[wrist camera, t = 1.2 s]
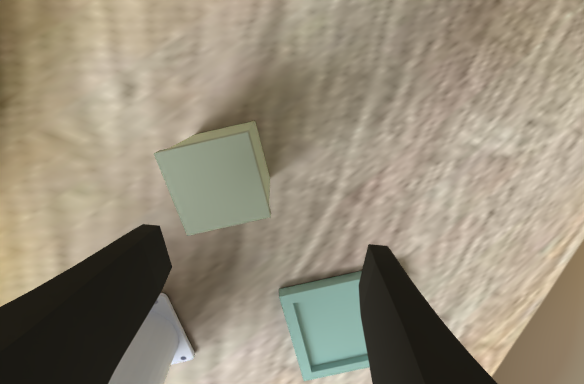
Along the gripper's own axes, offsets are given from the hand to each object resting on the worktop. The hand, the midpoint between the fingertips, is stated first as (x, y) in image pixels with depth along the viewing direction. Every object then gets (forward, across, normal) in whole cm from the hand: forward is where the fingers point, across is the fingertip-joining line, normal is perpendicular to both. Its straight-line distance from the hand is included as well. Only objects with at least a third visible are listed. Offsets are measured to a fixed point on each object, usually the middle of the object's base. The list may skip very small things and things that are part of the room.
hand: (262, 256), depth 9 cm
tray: (+9, -6, +17) cm, 21 cm away
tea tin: (+11, +4, +2) cm, 12 cm away
